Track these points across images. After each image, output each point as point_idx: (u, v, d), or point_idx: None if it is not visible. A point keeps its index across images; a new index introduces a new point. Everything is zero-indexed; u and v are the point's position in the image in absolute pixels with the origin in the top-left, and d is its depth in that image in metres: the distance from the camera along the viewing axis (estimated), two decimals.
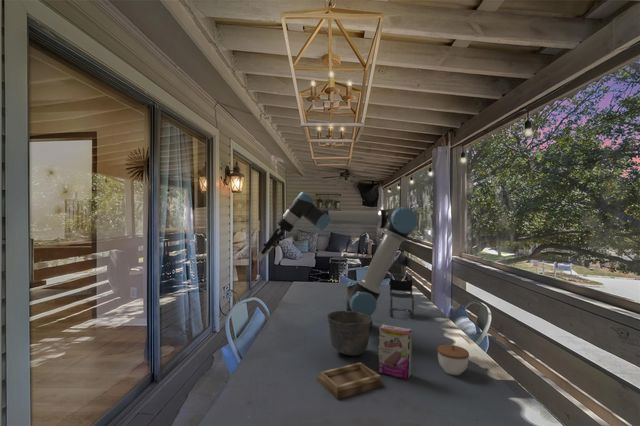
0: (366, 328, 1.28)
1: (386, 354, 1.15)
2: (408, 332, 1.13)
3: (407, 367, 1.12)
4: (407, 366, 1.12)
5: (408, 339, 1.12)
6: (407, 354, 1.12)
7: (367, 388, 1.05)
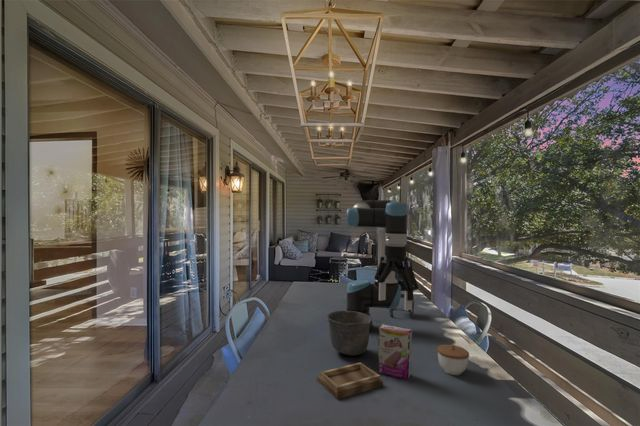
0: (366, 328, 1.28)
1: (386, 354, 1.15)
2: (408, 332, 1.13)
3: (407, 367, 1.12)
4: (407, 366, 1.12)
5: (408, 339, 1.12)
6: (407, 354, 1.12)
7: (367, 388, 1.05)
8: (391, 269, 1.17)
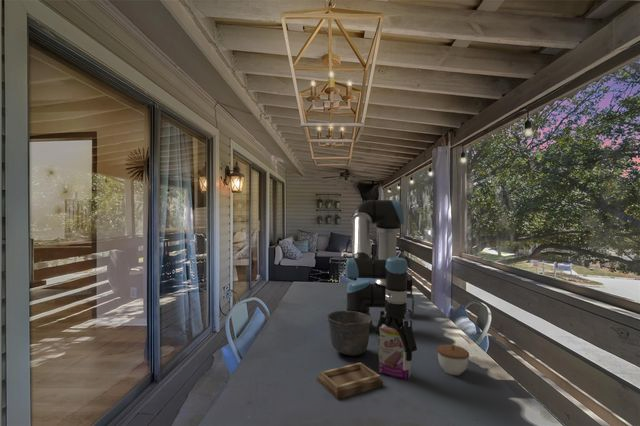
0: (366, 328, 1.28)
1: (386, 354, 1.15)
2: None
3: None
4: None
5: None
6: None
7: (367, 388, 1.05)
8: (391, 325, 1.16)
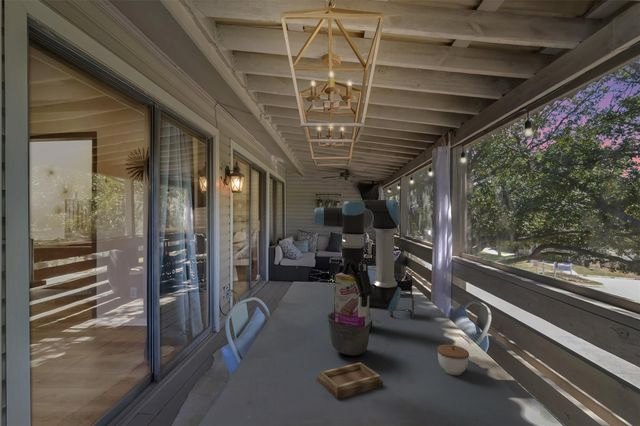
0: (366, 328, 1.28)
1: (342, 302, 1.08)
2: None
3: None
4: None
5: None
6: None
7: (367, 388, 1.05)
8: (348, 272, 1.10)
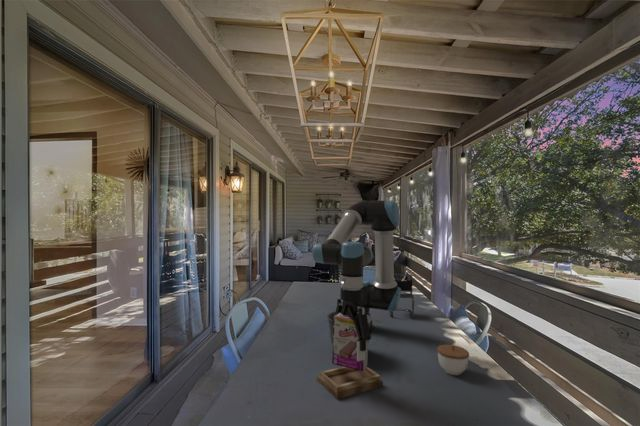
0: None
1: (341, 344, 1.08)
2: None
3: None
4: None
5: None
6: None
7: (367, 388, 1.05)
8: (347, 313, 1.09)
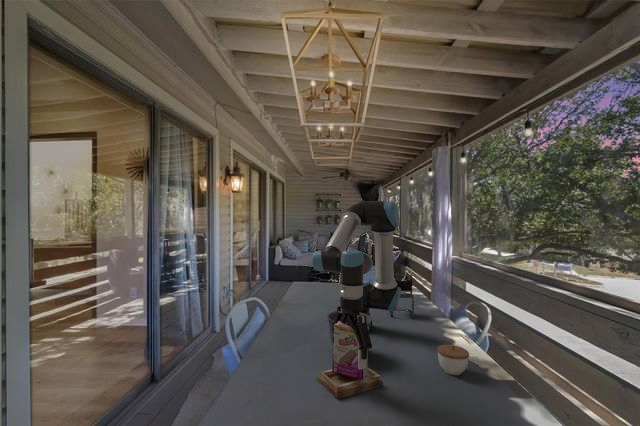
0: None
1: (341, 353, 1.08)
2: None
3: None
4: None
5: None
6: None
7: (367, 388, 1.05)
8: (347, 322, 1.09)
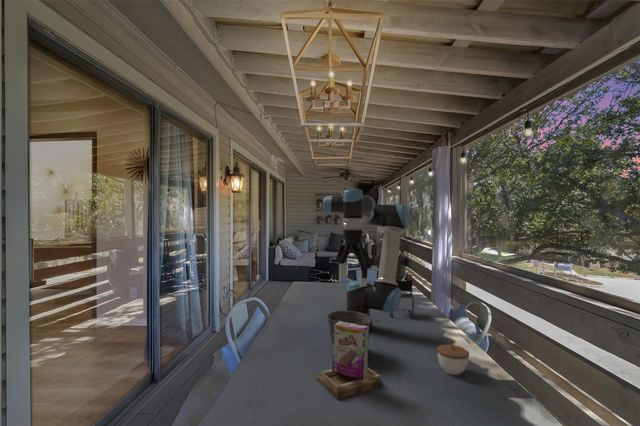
0: None
1: (341, 353, 1.08)
2: (363, 329, 1.06)
3: (362, 366, 1.05)
4: (362, 365, 1.05)
5: (363, 337, 1.05)
6: (362, 353, 1.05)
7: (367, 388, 1.05)
8: (349, 251, 1.28)
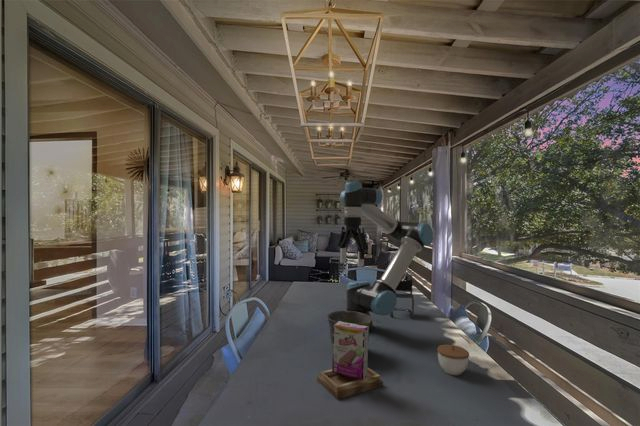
0: None
1: (341, 353, 1.08)
2: (363, 329, 1.06)
3: (362, 366, 1.05)
4: (362, 365, 1.05)
5: (363, 337, 1.05)
6: (362, 353, 1.05)
7: (367, 388, 1.05)
8: (349, 236, 1.45)
